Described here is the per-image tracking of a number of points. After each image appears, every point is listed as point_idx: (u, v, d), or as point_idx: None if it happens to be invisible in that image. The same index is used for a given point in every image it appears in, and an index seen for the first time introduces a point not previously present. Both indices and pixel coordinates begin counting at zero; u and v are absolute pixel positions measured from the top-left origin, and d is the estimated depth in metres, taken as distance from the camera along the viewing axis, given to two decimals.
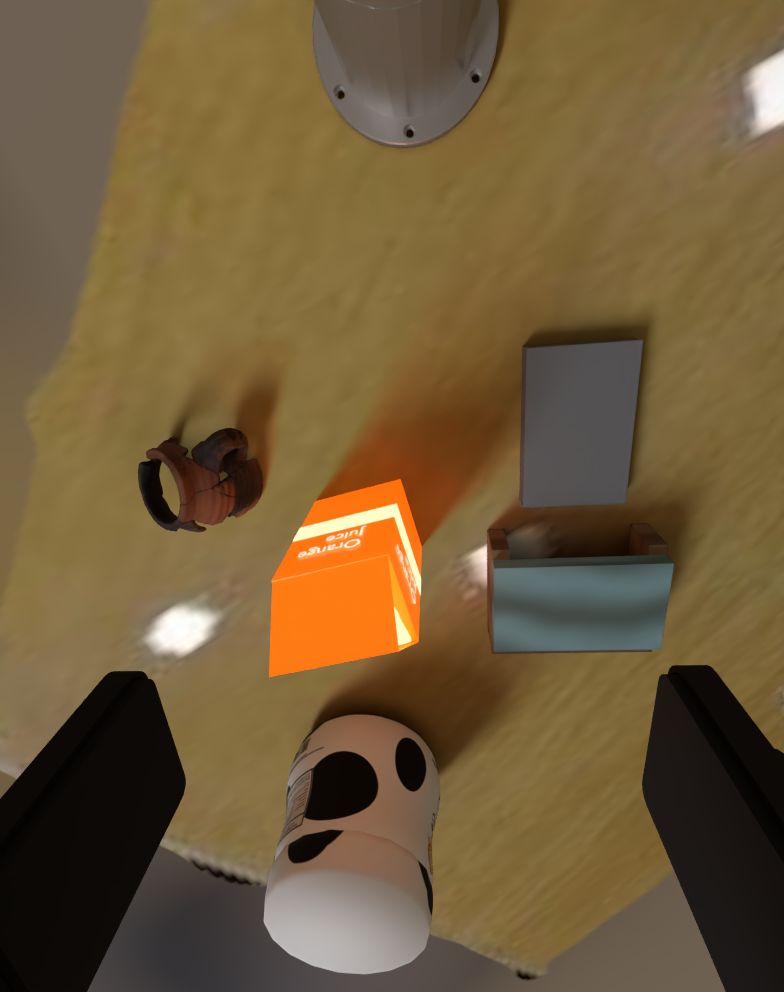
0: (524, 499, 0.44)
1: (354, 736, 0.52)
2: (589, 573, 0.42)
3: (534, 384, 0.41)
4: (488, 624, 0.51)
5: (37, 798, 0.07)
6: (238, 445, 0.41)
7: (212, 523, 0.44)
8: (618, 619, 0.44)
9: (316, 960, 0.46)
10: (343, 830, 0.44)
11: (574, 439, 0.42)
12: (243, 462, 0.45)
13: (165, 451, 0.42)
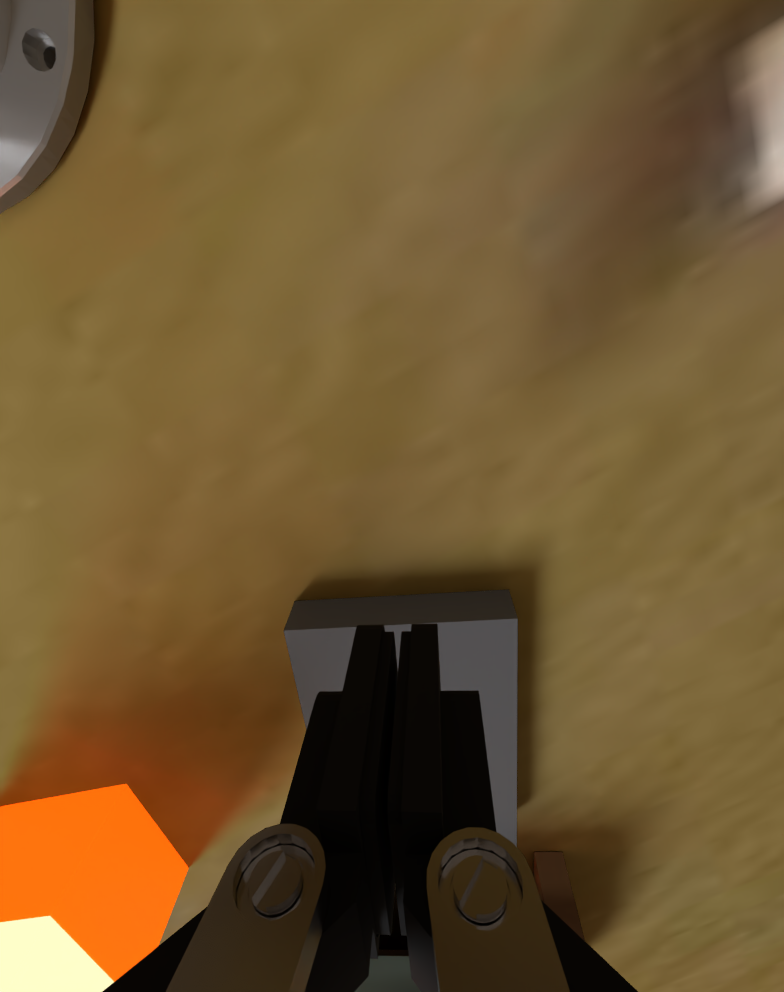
0: None
1: None
2: None
3: (313, 687, 0.20)
4: None
5: (367, 724, 0.07)
6: None
7: None
8: None
9: None
10: None
11: None
12: None
13: None
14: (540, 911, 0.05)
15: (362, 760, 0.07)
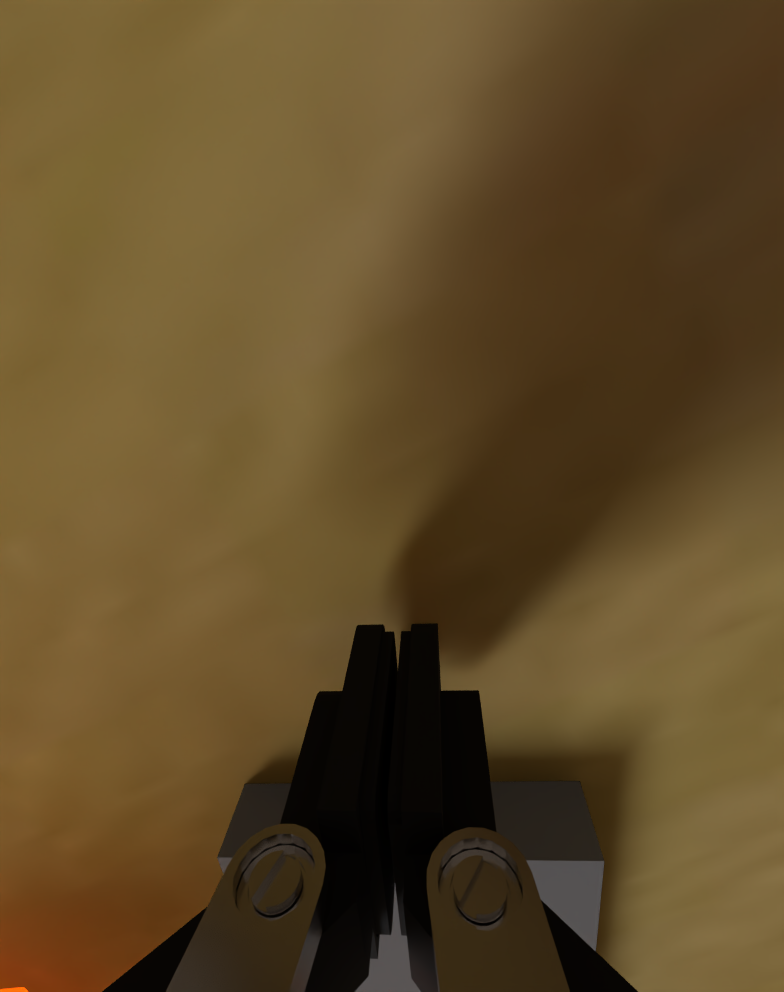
0: None
1: None
2: None
3: None
4: None
5: (367, 725, 0.07)
6: None
7: None
8: None
9: None
10: None
11: None
12: None
13: None
14: (540, 911, 0.05)
15: (362, 760, 0.07)
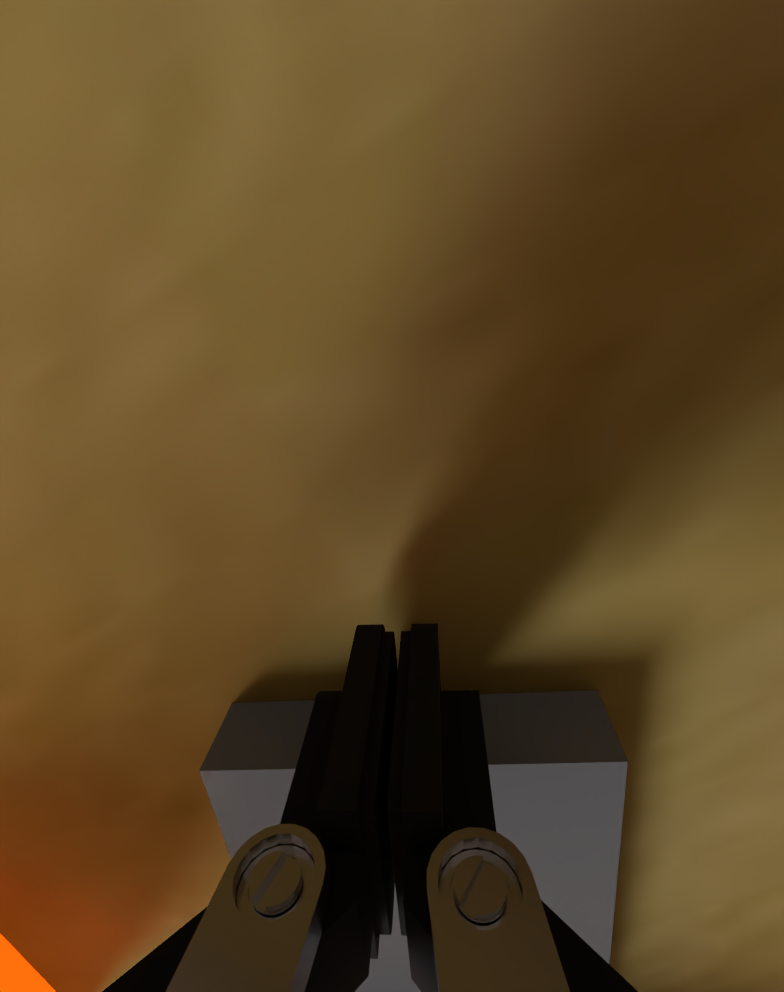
0: None
1: None
2: None
3: None
4: None
5: (367, 724, 0.07)
6: None
7: None
8: None
9: None
10: None
11: None
12: None
13: None
14: (540, 910, 0.05)
15: (362, 760, 0.07)
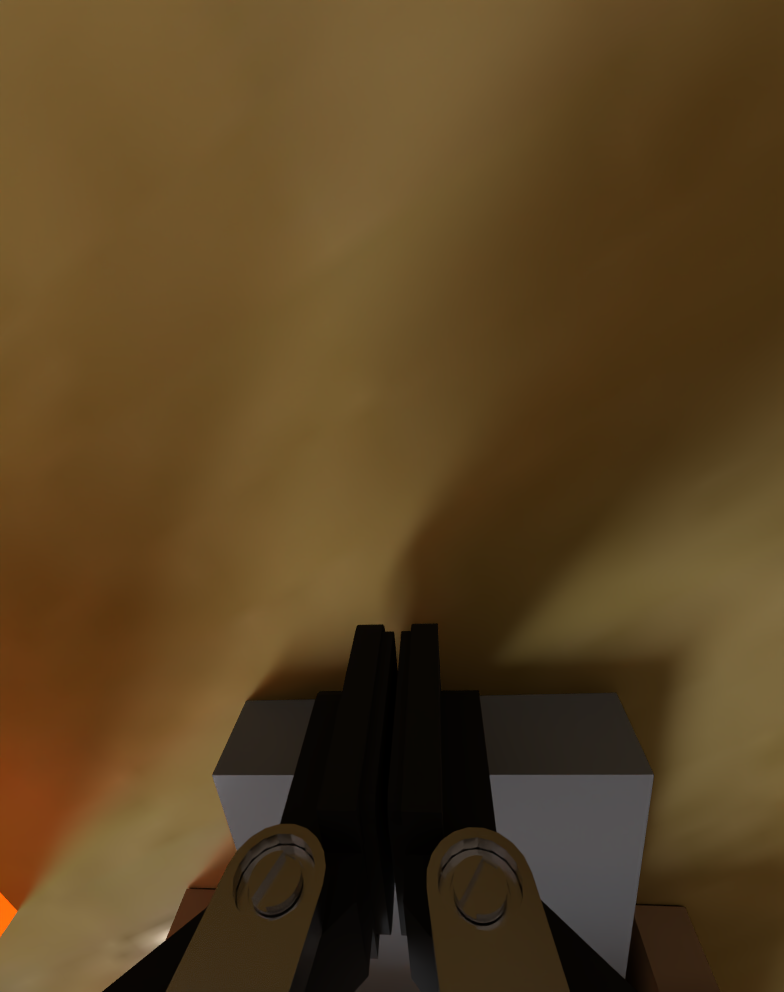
0: None
1: None
2: None
3: None
4: None
5: (367, 724, 0.07)
6: None
7: None
8: None
9: None
10: None
11: None
12: None
13: None
14: (541, 911, 0.05)
15: (362, 760, 0.07)
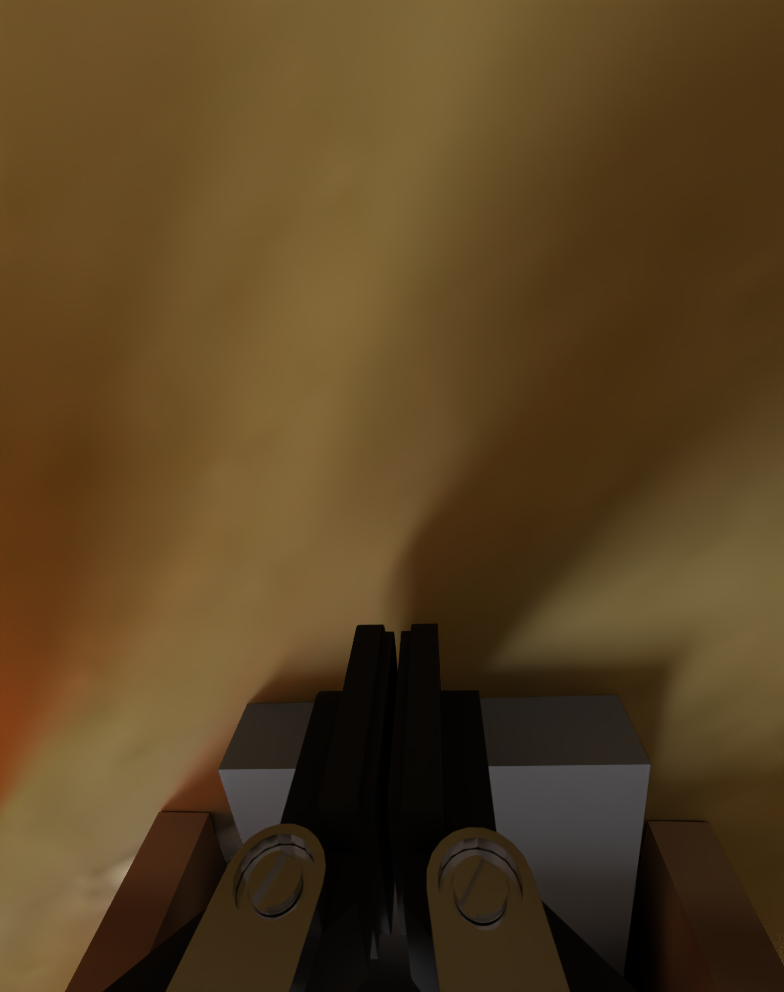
0: None
1: None
2: None
3: None
4: None
5: (367, 724, 0.07)
6: None
7: None
8: None
9: None
10: None
11: None
12: None
13: None
14: (540, 911, 0.05)
15: (362, 760, 0.07)
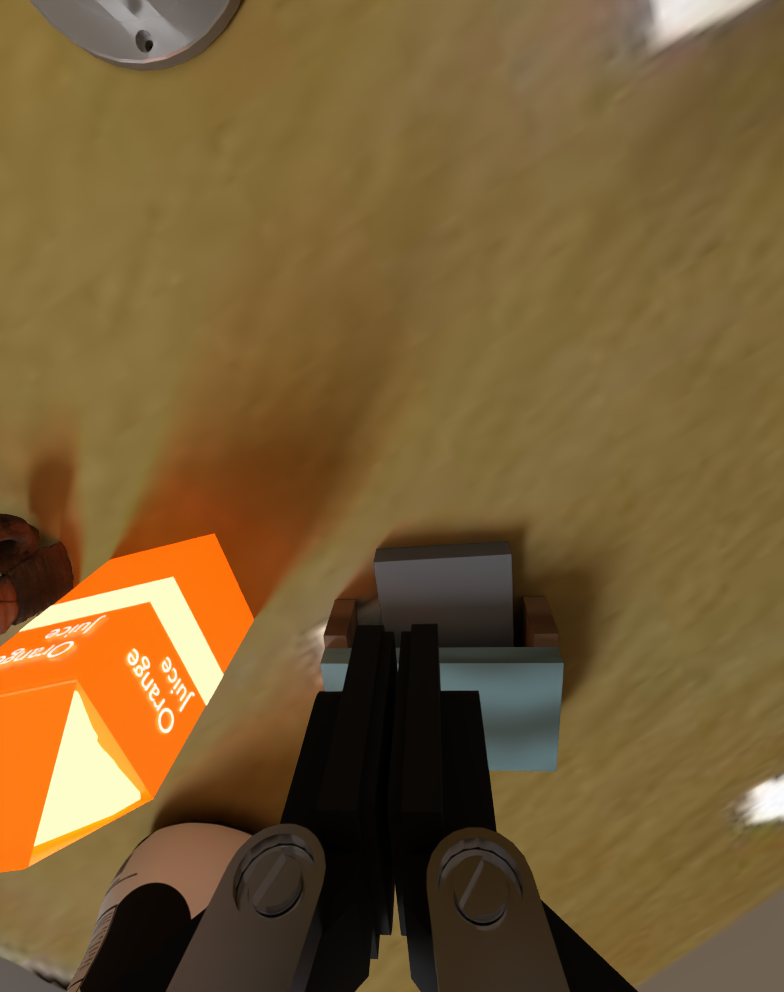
0: None
1: (177, 860, 0.40)
2: (449, 673, 0.31)
3: (388, 599, 0.34)
4: None
5: (367, 724, 0.07)
6: None
7: None
8: (495, 732, 0.32)
9: None
10: None
11: None
12: (31, 553, 0.34)
13: None
14: (541, 911, 0.05)
15: (362, 760, 0.07)
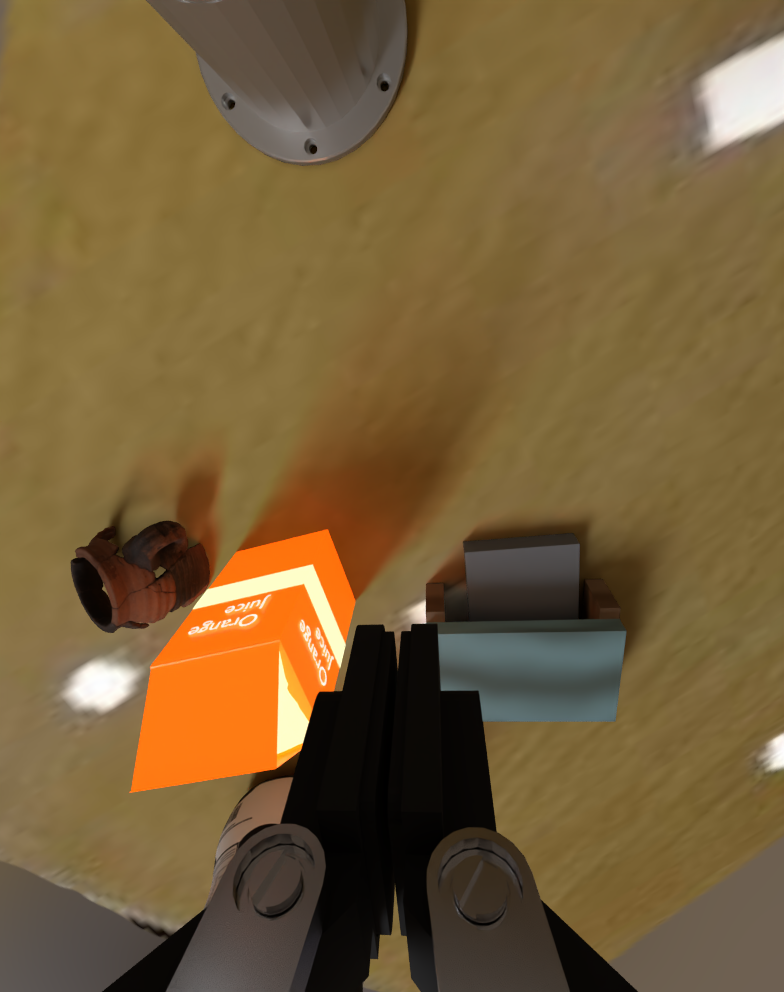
0: None
1: None
2: (532, 640, 0.38)
3: (475, 583, 0.41)
4: None
5: (367, 724, 0.07)
6: (171, 541, 0.38)
7: (152, 621, 0.40)
8: (567, 689, 0.39)
9: None
10: None
11: None
12: (183, 552, 0.41)
13: (94, 550, 0.38)
14: (540, 911, 0.05)
15: (362, 760, 0.07)
